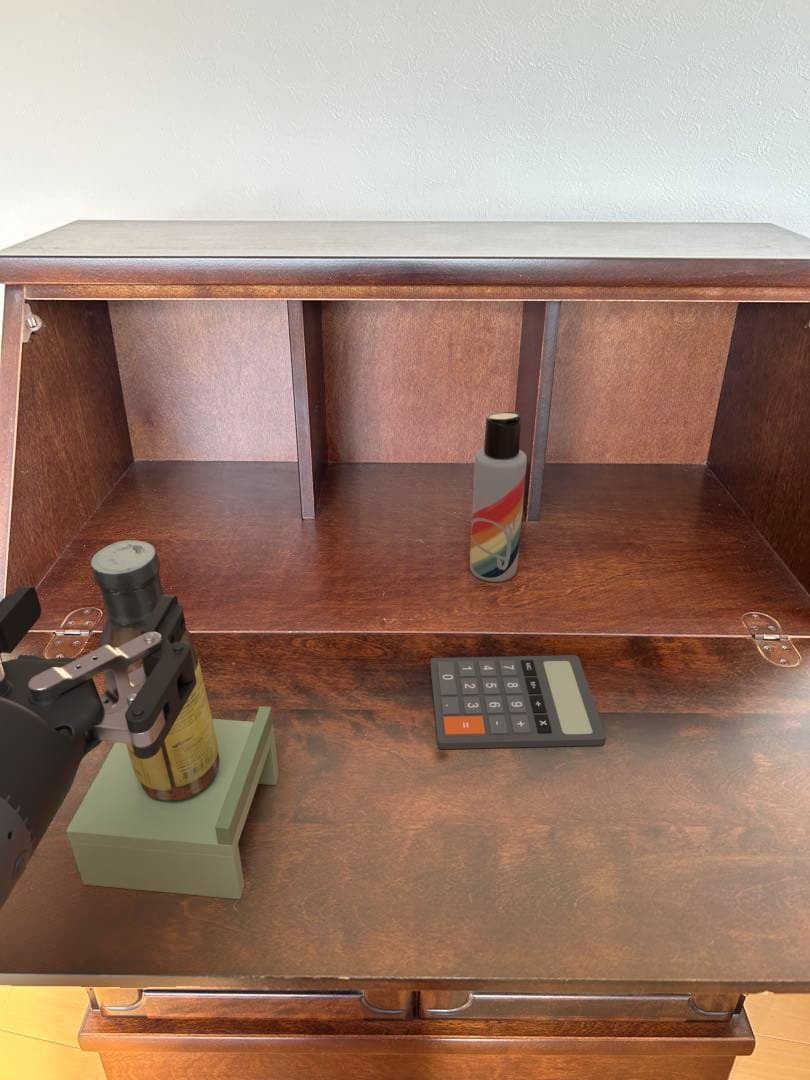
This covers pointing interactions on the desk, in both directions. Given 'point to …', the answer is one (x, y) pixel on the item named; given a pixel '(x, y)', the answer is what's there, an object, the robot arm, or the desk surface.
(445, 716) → the calculator
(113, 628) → the sauce bottle
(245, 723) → the shelf
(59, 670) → the robot arm
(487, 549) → the lotion bottle
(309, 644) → the desk surface
